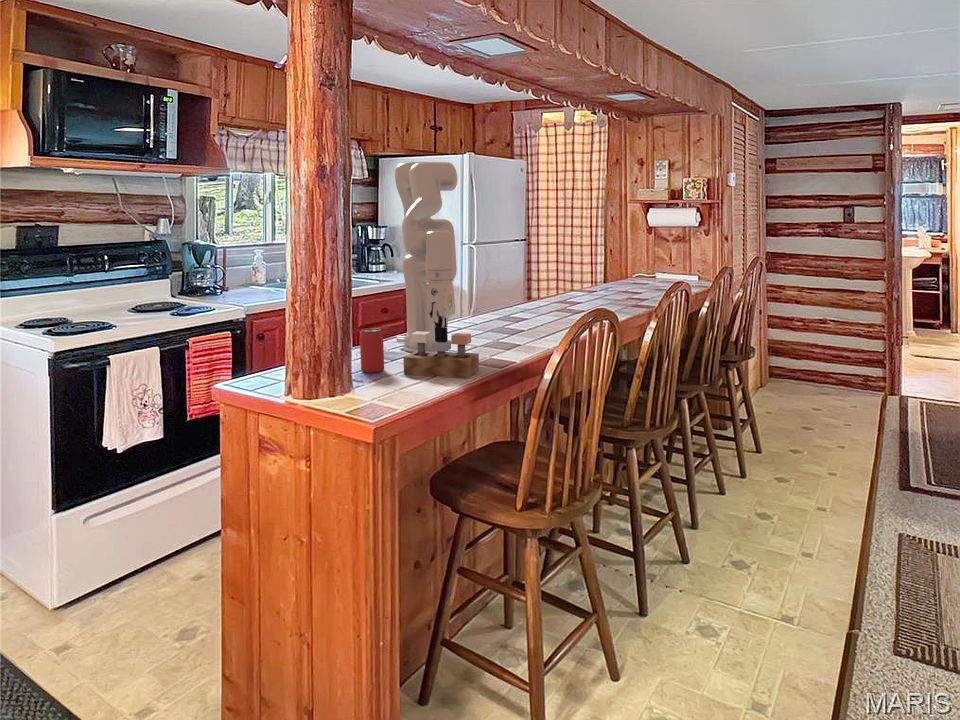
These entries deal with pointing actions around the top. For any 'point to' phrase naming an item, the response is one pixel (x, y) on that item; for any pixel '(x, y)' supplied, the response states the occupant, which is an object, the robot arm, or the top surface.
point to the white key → (421, 340)
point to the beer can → (371, 350)
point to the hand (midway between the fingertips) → (441, 341)
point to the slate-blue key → (441, 347)
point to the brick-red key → (461, 342)
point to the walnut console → (441, 364)
